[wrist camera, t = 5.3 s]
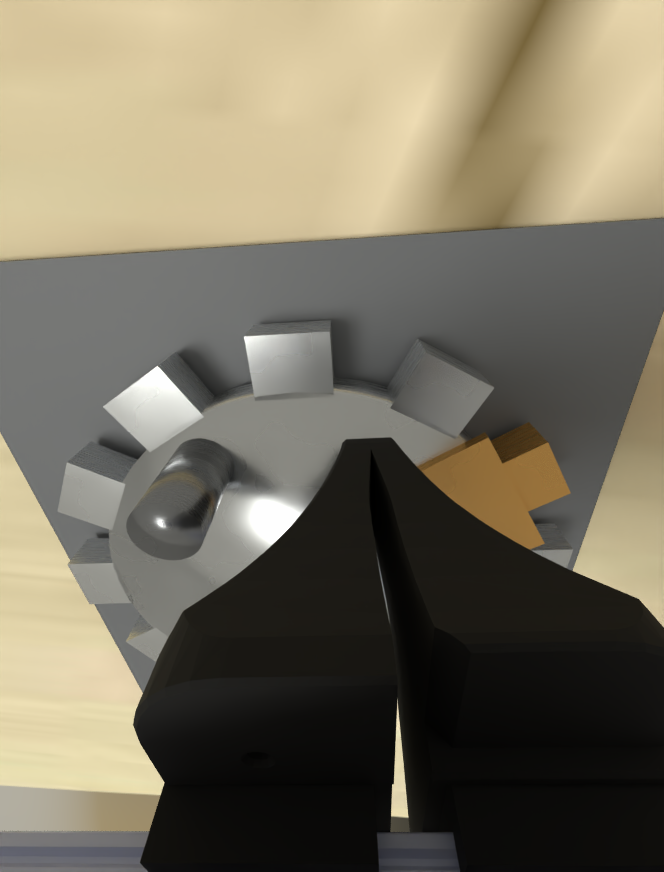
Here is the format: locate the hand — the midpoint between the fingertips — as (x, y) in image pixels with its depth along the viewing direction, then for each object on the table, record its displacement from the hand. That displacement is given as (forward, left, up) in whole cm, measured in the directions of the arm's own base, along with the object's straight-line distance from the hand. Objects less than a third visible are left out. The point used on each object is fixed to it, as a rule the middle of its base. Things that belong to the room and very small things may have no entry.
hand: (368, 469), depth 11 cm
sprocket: (-5, +2, -3) cm, 6 cm away
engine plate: (-5, +2, -3) cm, 6 cm away
